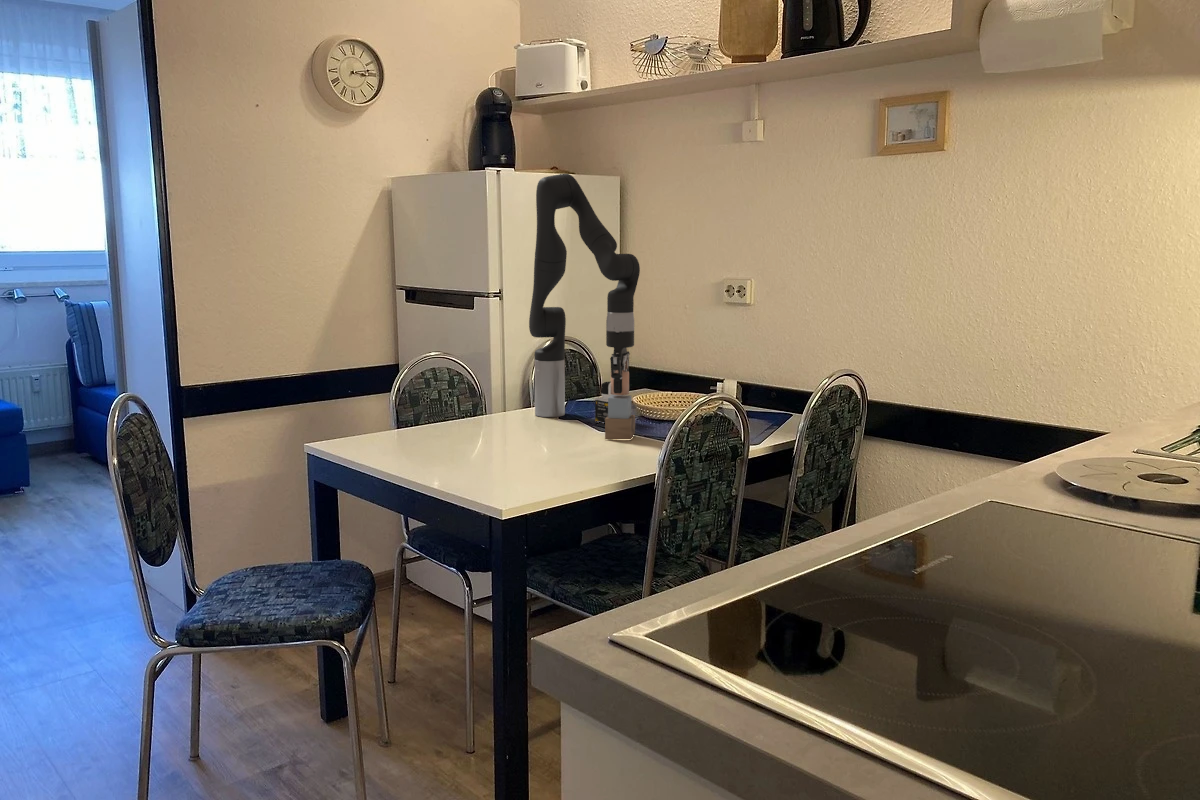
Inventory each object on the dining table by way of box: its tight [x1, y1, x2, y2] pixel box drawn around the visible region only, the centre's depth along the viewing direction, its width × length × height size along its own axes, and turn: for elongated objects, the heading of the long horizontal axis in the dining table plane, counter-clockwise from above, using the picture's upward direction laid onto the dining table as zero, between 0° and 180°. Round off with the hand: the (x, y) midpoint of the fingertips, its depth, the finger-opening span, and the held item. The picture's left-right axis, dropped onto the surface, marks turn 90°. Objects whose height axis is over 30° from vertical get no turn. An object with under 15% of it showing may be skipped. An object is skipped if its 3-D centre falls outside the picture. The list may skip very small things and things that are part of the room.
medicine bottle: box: [594, 381, 612, 422], centre depth 280 cm, size 7×7×12 cm
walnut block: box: [604, 414, 636, 440], centre depth 258 cm, size 7×7×6 cm
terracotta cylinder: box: [610, 370, 630, 395], centre depth 256 cm, size 5×5×6 cm
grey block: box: [608, 394, 632, 419], centre depth 257 cm, size 6×6×6 cm
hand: (619, 391), depth 257 cm, fingers closed on terracotta cylinder, 5 cm apart
